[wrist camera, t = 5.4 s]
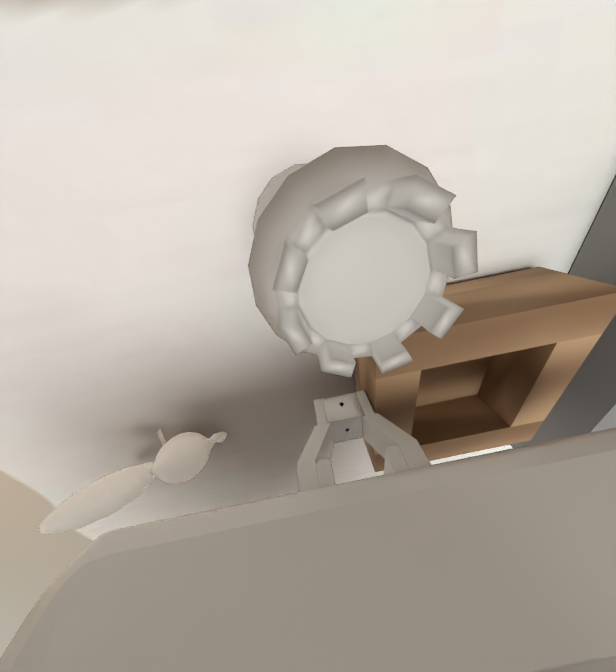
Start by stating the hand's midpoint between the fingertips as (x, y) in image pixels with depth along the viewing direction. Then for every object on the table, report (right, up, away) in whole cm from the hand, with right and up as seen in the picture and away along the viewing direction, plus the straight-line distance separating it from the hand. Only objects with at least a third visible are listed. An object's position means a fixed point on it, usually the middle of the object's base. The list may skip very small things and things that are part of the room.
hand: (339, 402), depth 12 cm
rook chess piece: (-2, +8, -3) cm, 9 cm away
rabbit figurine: (-12, -3, +3) cm, 12 cm away
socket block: (+6, +2, +2) cm, 7 cm away
